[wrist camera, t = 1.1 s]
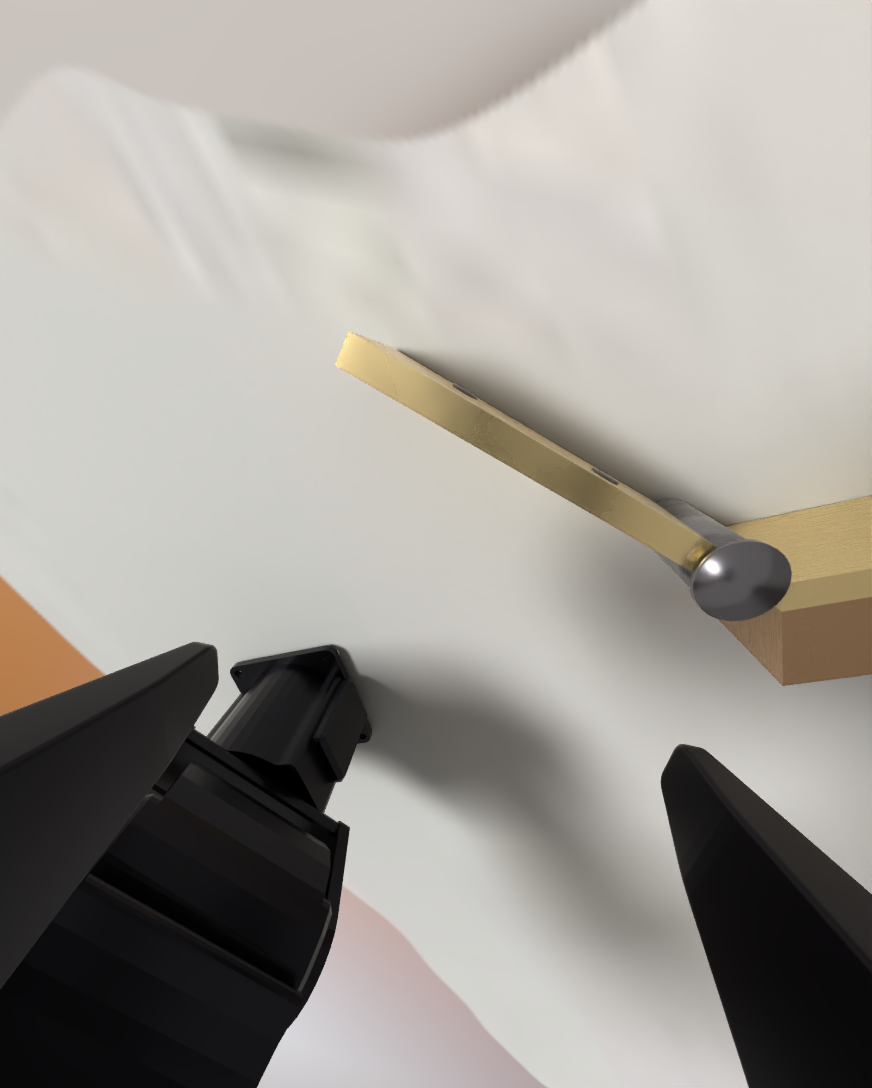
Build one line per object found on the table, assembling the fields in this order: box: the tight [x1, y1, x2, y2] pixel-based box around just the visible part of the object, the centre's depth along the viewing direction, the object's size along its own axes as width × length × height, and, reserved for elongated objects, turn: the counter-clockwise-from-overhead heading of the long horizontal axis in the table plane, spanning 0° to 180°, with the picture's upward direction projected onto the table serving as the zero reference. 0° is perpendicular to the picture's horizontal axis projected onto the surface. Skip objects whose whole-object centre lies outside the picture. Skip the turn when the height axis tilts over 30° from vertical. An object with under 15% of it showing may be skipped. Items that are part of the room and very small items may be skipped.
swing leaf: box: [335, 331, 792, 621], centre depth 14 cm, size 15×3×6 cm, turn 62°
